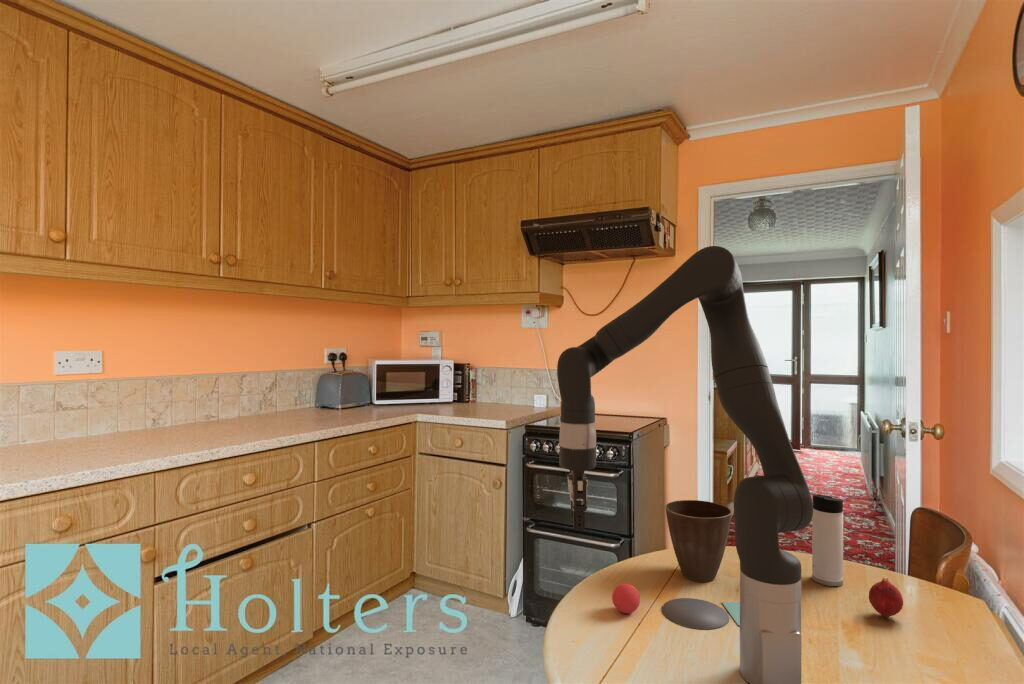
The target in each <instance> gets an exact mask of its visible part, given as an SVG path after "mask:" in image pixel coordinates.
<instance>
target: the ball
mask: <svg viewBox="0 0 1024 684" xmlns="http://www.w3.org/2000/svg"><path fill="white" fill-rule="evenodd" d="M611 598H612V599H611V600H612V604H613V606H614V607H615V609H616V610H617V611H619V612H620V613H623V614H632V613H634V612H635V611H637V610H638V608H639V606H640V603H641V597H640V593H639V591H638V590H637V588H636V587H635V586H633V585H632V584H629V583H620V584H618V585H617V586H615V588H614V590H613V591H612V595H611Z"/></svg>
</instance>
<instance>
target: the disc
mask: <svg viewBox="0 0 1024 684" xmlns="http://www.w3.org/2000/svg"><path fill="white" fill-rule="evenodd" d="M661 609H662V614H663V615H664V616H665V618H667V619H668V620H670V621H671V622H673V623H675V624H677V625H680V626H683V627H685V628H690V629H695V630H716V628H717V629H721V628H722V627H724V626H726V625H727V624H728V623H729V621H730V616H729V615H730V614H729V612H728V611H727V610H725V609H723V607H721V606H720V605H719V604H718V605H717V604H716V603H713V602H710V601H707V600H704V599H699V598H692V597H679V598H673V599H669V600H668V601H666V602H664V603H663V604H662V607H661Z"/></svg>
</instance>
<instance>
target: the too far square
mask: <svg viewBox="0 0 1024 684" xmlns="http://www.w3.org/2000/svg"><path fill="white" fill-rule="evenodd" d="M721 604H722V605H723V606H724V608H725V609H726V612H727V613H728V615H730V616H731V618H732V619H733V620H734V622H735V623H736V624H737V626H738V627H740V601H721Z"/></svg>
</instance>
